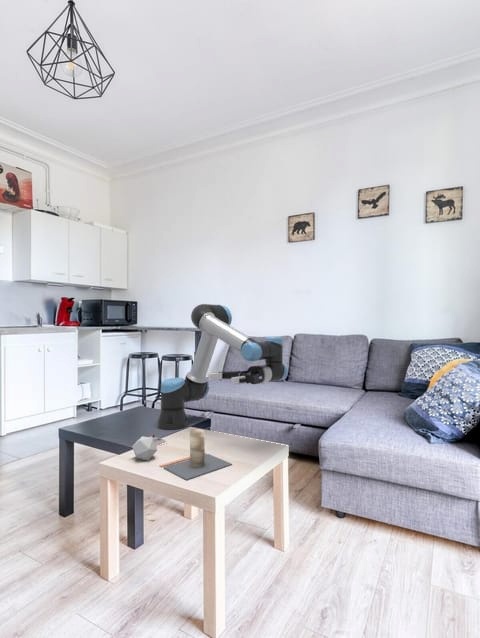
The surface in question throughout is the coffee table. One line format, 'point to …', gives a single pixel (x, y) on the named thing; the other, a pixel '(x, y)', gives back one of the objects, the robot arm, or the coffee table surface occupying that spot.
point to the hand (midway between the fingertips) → (219, 379)
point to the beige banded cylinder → (197, 448)
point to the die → (144, 448)
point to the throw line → (175, 462)
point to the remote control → (157, 440)
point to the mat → (190, 472)
